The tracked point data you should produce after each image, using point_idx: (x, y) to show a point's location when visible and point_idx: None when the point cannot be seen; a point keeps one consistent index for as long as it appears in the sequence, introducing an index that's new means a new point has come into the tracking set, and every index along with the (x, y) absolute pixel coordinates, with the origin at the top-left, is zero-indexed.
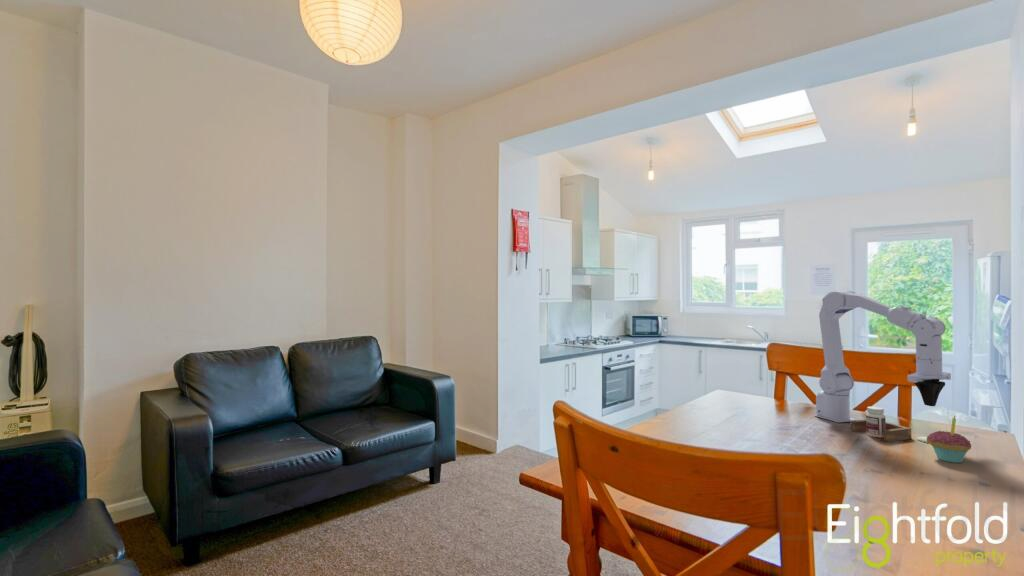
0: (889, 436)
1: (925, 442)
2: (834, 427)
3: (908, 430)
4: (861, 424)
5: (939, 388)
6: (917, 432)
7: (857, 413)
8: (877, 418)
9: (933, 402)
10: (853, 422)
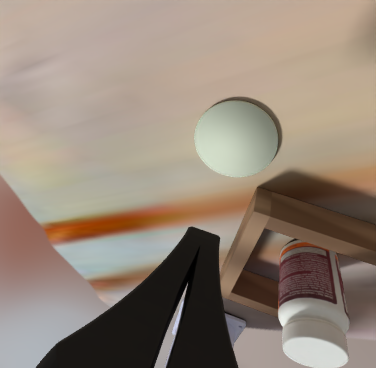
0: (371, 236)
1: (276, 146)
2: None
3: (268, 211)
4: None
5: (141, 340)
6: (155, 190)
7: (111, 298)
8: (345, 313)
9: (212, 252)
10: None
